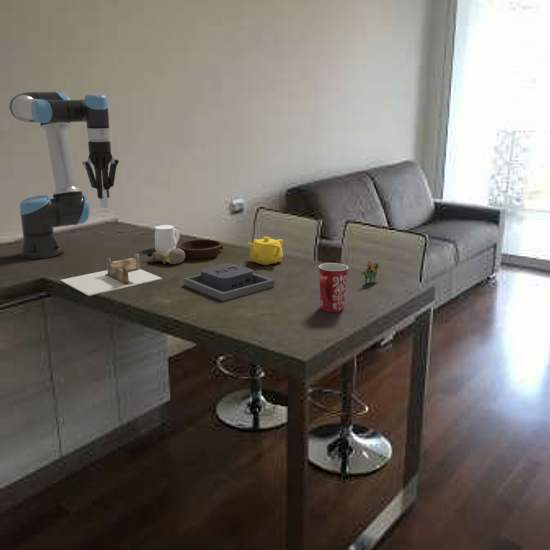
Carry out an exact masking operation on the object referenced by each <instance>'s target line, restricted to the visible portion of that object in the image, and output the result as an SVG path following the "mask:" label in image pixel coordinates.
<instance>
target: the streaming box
mask: <svg viewBox="0 0 550 550" xmlns="http://www.w3.org/2000/svg"><path fill="white" fill-rule="evenodd" d="M253 273H254V272H253V269H252V268H249V267H246V266H242V265H239V264H236V263H232V262H228V263H227V262H226V263H222V264H217V265H213V266H210V267H206V268H205V267H204V268H202V269H201V270H200V274H201V282H200V283H201V284H203V285H206V286H208V287H211V288H213V289H216V290H218V291H221V292H227V291H230V290H234V289H238V288H242V287H246V286H249V285H253V284H254V281H253Z"/></svg>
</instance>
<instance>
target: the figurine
mask: <svg viewBox="0 0 550 550" xmlns="http://www.w3.org/2000/svg"><path fill="white" fill-rule="evenodd" d="M369 263H370V264H369ZM366 267H367V268H364V271H361V273H360V276H361V275H362V276H364V280H365V284H369V285H372V284H371V282H372V281H373V282H374V281H376V277H377V275H379V272H378V269H380V266H379V263H378V262H374V263H373V264H372V262H371V261H367V265H366ZM368 278H369V282H368ZM371 280H372V281H371ZM367 282H368V283H367Z"/></svg>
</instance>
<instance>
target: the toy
mask: <svg viewBox="0 0 550 550" xmlns="http://www.w3.org/2000/svg"><path fill="white" fill-rule="evenodd" d="M146 256H147V257H149V258H152V261H153V262H162V263H163V264H164V265H166V264H167V263H169V264H172V265H177V264H178V265H179V264H180V263H182V262H184V261H185V258H186V257H185V253H184V251H183V250H182V249H180V248H179V247H178V248H177V247H176V248H173V249H170V250H165V249H162V250H158V251H157V250H155V252H152V253H151V252H150V253H148V254H147V255H146Z"/></svg>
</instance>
